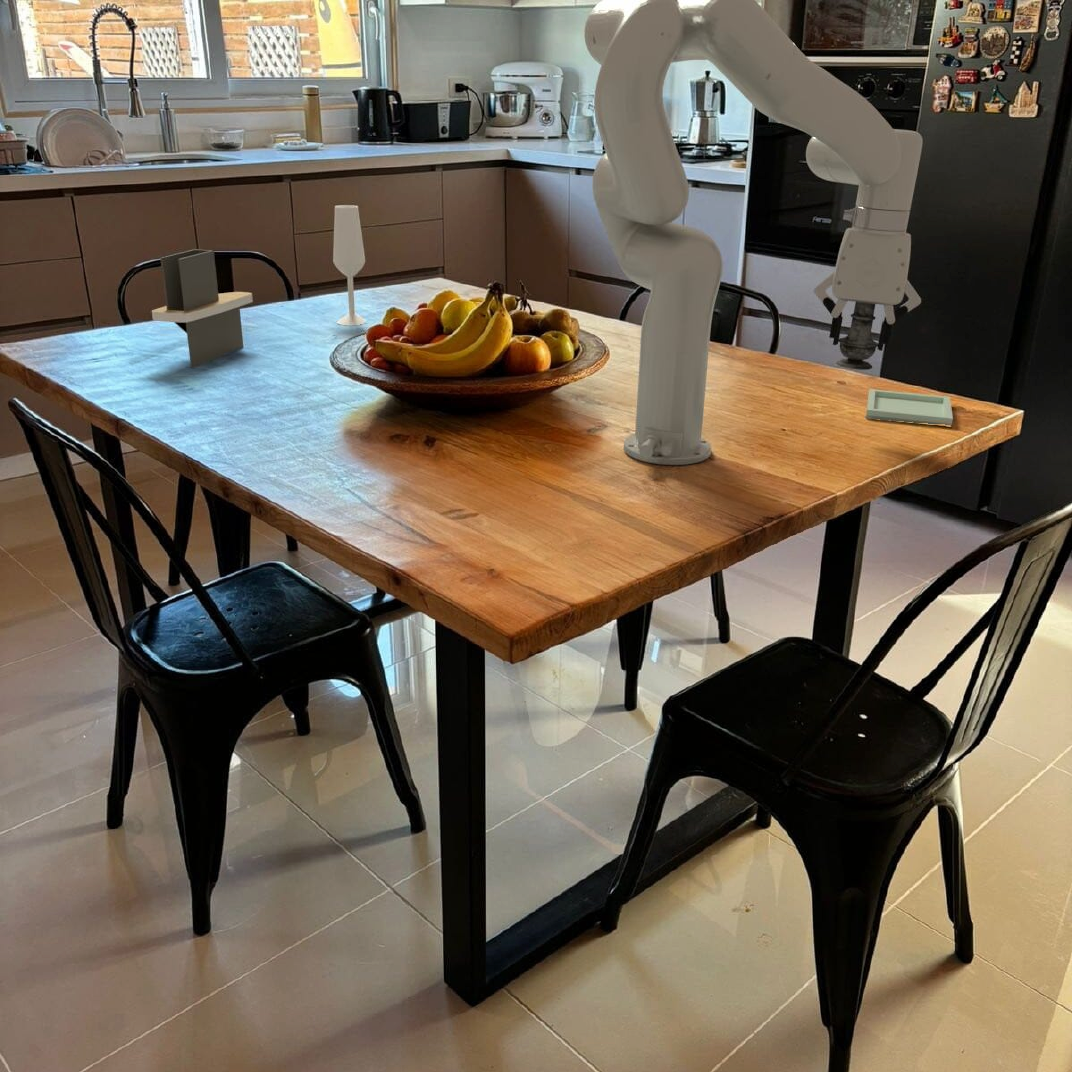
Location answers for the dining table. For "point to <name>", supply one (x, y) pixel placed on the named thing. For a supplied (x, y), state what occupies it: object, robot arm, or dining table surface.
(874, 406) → the tray
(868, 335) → the salt shaker
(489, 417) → the dining table surface
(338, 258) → the champagne flute
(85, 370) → the dining table surface
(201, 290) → the architectural model
